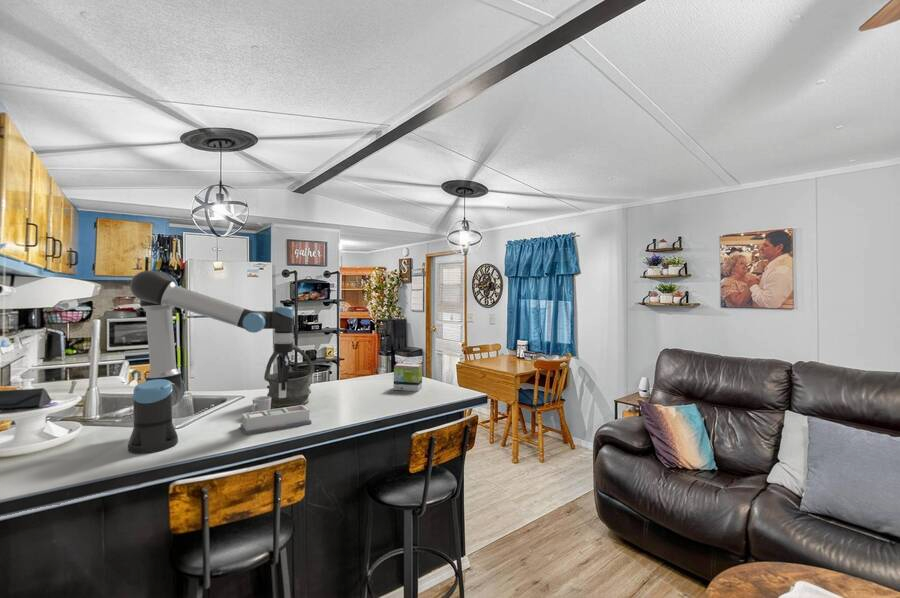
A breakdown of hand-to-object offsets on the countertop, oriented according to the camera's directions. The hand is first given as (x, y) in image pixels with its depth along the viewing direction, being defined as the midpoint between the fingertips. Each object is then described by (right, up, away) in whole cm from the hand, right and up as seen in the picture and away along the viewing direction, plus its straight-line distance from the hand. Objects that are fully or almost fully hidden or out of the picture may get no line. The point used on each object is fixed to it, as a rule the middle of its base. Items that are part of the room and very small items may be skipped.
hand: (282, 397), depth 183 cm
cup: (-15, -12, +12) cm, 22 cm away
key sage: (-2, -8, -2) cm, 8 cm away
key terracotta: (+5, -9, +3) cm, 11 cm away
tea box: (+47, -11, +68) cm, 83 cm away
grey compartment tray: (-2, -12, -1) cm, 12 cm away
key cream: (-9, -8, -6) cm, 13 cm away
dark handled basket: (-10, -11, +34) cm, 38 cm away
